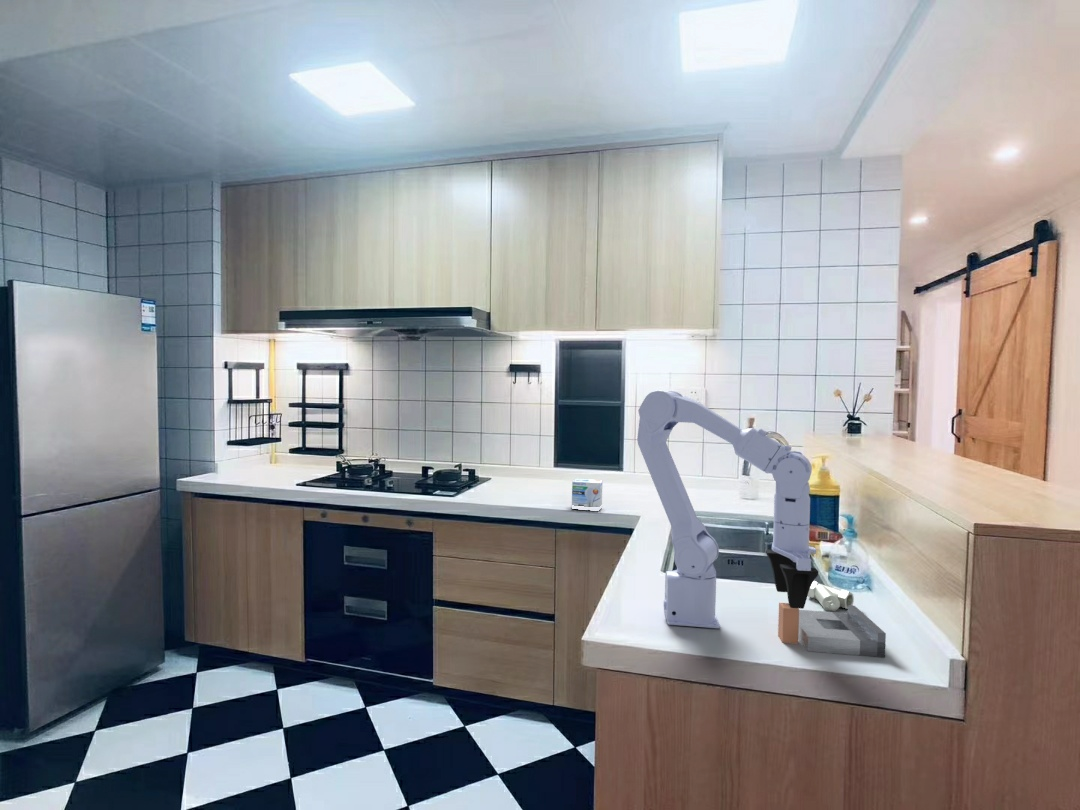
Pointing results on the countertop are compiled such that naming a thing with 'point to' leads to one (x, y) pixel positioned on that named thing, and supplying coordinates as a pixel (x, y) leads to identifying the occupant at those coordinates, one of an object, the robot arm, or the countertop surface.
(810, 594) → the pipe fitting
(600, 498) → the light bulb box
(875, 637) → the grey square base
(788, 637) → the pin
